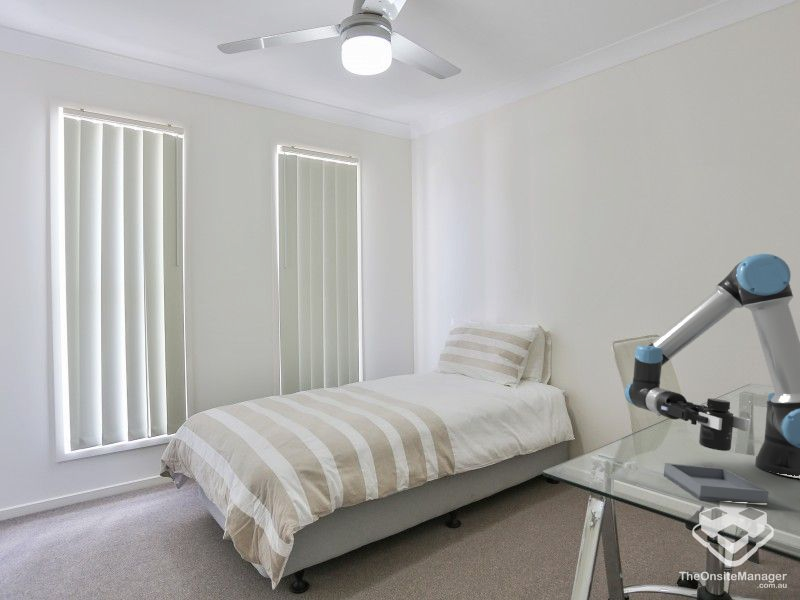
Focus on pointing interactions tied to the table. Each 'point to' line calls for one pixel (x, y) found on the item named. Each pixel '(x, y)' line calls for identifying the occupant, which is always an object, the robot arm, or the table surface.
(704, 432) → the supplement bottle
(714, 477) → the charcoal tray
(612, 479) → the table surface
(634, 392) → the robot arm
